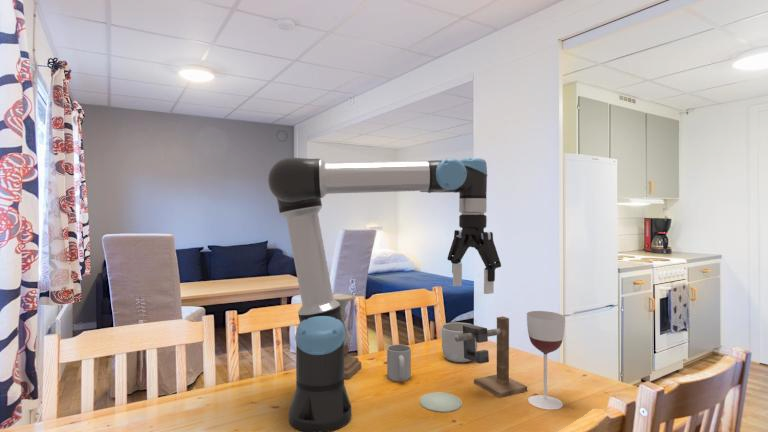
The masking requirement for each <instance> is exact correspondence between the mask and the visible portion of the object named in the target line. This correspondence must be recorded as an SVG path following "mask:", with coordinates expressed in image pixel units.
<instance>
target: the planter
mask: <svg viewBox="0 0 768 432" xmlns="http://www.w3.org/2000/svg"><path fill="white" fill-rule="evenodd" d="M464 325H474V324H472V323H467V322H457V321H456V322H446V323H443V324H442V325H441V326H440V327H441V330H440V331H441V332H440V333H441V335H440V336H441V349H442V354H443V356H444V358H445V359H447V360H448V361H450V362H454V363H468V362H471V360H468V359H465V358H464V343H463V341H458V342H456V341H455V335H458V334H463V326H464ZM475 350H476V351H478V342H476V339H475Z"/></svg>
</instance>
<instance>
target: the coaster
mask: <svg viewBox="0 0 768 432" xmlns="http://www.w3.org/2000/svg"><path fill="white" fill-rule="evenodd" d="M462 404H463V402H462V399H460V398H459V396H456V395H454V394H451V393H449V392H448V393H447V392H443V391H442V392H428V393H425V394H423V395H422V396H421V397H420V398H419V405H420V406H421V407H422V408H423V409H426V410H428V411H432V412H436V413H450V412H455V411H457V410H459V409H460V408H461V407H462Z"/></svg>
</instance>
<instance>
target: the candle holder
mask: <svg viewBox="0 0 768 432" xmlns="http://www.w3.org/2000/svg"><path fill="white" fill-rule="evenodd" d="M332 294H333V298H334V299H335V300H336V301H338V302H339V303H340V307H341V313H342V318H343V320H344V322H345V323H346V320H347V318H348V317H349V316H348V313H347V312H346V307H347V305H348V304H349V302H351V301H354V300H355V299H356V295H355V294H353V293H349V292H347V293H346V292H336V293H335V292H334V293H333V292H332ZM351 341H352V336H351V333H350V331H349V330H348V327H346V336H345V345H344V380H350V379H351V378H352V377H354V375H356V374H357V372H358V371H360V370H361V369H362V361H359V358H358V357H356V356H351V355H350V354H349V352H350V347H349V346H348V344H350V343H351Z"/></svg>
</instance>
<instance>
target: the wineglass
mask: <svg viewBox="0 0 768 432" xmlns="http://www.w3.org/2000/svg"><path fill="white" fill-rule="evenodd" d="M565 325H566V316H565V315H563V314H560V313H557V312H552V311H546V310H532V311H531V310H530V311H528V312H526V326H527V332H528V333H527V335H528V337H529V341H530V343H531V345H533V347H534V348H535V349H537V350H538V351H540V352H541V353H543V394H540V395H539V394H538V395H537V394H536V395H531V396H530V397H528V399H527V400H528V403H529V404H531V405H532V406H534V407H536V408H539V409H544V410H558V409H561V408H562V407H563V406H564V404H563V402H562V401H561V400H560V399H558V398H556V397H552V396H549V395H548V354H550V353H553V352H556V351H557V350H558V349H559V348H560V347H561V346H562V344H563V340H564V335H565Z"/></svg>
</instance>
